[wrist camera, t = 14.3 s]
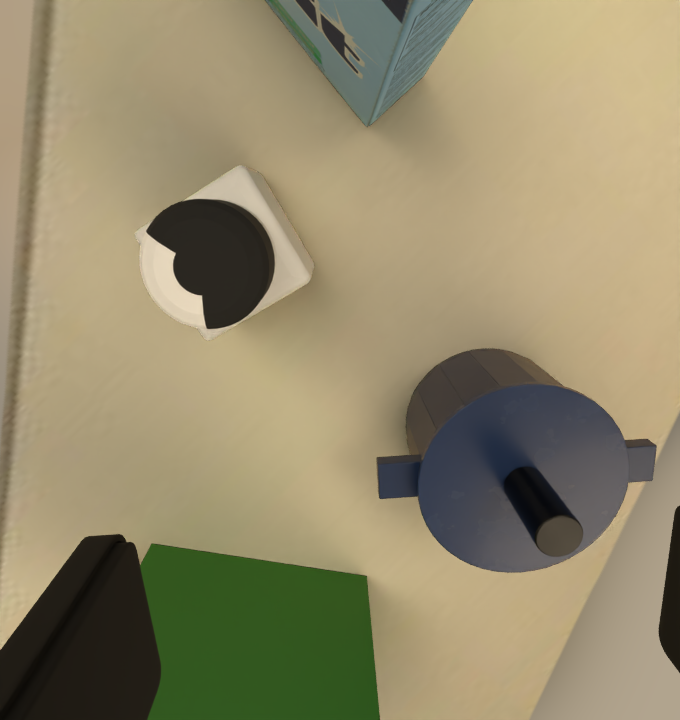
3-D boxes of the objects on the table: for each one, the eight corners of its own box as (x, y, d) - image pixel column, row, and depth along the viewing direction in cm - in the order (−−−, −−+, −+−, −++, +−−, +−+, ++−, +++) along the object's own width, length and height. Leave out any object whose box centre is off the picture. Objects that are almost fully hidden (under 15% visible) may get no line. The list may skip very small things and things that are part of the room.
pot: (365, 356, 37) (375, 399, 29) (598, 340, 37) (673, 378, 29) (373, 495, 41) (383, 568, 32) (587, 480, 40) (651, 550, 32)
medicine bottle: (260, 170, 34) (222, 152, 22) (316, 266, 35) (309, 296, 24) (169, 227, 34) (88, 239, 23) (229, 318, 36) (181, 371, 25)
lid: (412, 385, 30) (432, 430, 24) (629, 370, 30) (702, 411, 24) (417, 567, 33) (435, 645, 27) (610, 554, 33) (670, 629, 27)
